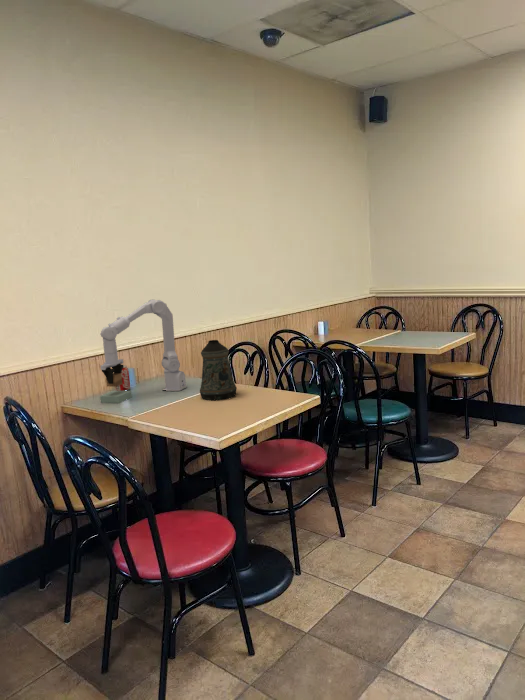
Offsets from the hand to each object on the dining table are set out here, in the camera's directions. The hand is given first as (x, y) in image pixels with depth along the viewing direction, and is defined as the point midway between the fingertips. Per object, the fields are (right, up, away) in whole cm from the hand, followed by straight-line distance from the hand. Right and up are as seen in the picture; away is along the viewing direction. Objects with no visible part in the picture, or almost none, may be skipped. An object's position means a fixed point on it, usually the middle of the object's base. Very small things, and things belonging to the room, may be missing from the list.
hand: (114, 382), depth 255 cm
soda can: (-1, -5, +20) cm, 21 cm away
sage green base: (+1, -8, +1) cm, 8 cm away
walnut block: (0, -1, 0) cm, 2 cm away
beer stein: (+47, -6, -5) cm, 48 cm away
